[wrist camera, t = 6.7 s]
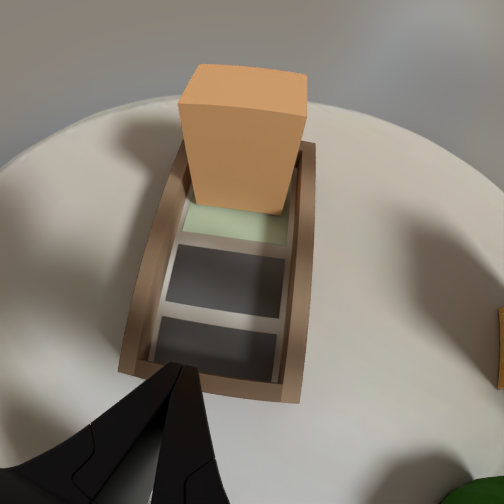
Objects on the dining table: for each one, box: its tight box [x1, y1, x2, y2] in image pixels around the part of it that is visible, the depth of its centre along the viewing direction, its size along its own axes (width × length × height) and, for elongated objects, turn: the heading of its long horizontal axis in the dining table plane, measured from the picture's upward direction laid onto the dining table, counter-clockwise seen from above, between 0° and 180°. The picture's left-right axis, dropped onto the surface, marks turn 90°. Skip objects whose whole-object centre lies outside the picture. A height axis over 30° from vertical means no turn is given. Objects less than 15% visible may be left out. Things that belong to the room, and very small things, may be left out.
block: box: [178, 64, 307, 216], centre depth 17 cm, size 4×6×9 cm, turn 82°
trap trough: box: [118, 138, 316, 404], centre depth 18 cm, size 18×10×3 cm, turn 172°
